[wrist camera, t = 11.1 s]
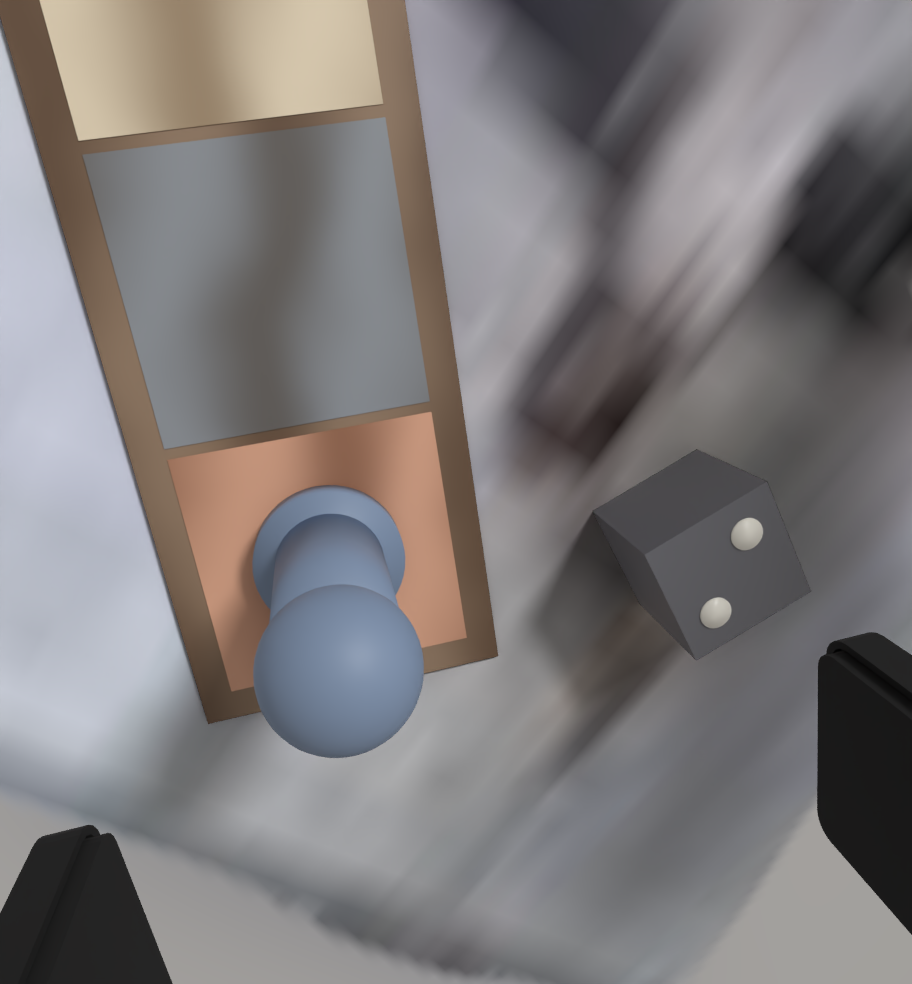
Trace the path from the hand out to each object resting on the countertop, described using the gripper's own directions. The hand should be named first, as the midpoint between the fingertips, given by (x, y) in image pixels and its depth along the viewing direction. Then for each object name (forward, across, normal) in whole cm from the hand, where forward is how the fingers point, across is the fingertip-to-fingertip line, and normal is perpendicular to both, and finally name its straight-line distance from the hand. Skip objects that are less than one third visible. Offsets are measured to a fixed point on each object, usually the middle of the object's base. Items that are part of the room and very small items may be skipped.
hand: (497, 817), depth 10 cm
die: (+20, -11, +6) cm, 23 cm away
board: (+19, +3, -6) cm, 21 cm away
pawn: (+19, +3, +4) cm, 20 cm away
